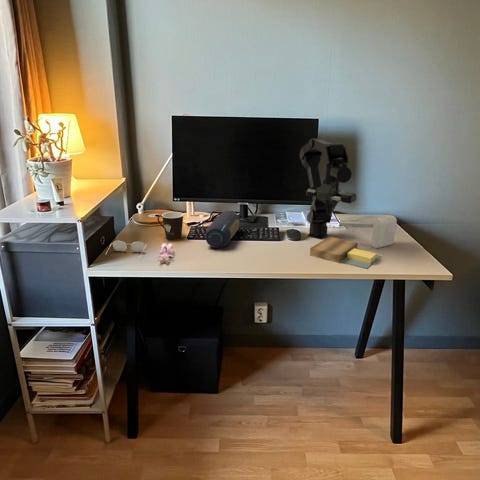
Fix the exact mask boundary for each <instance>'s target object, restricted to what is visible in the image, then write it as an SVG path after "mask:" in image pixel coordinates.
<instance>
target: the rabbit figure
mask: <svg viewBox="0 0 480 480" xmlns="http://www.w3.org/2000/svg"><path fill="white" fill-rule="evenodd" d="M172 248H173V243H172V242H171V243H168V244H167V243H162V244H161V249H160V251H159V252H158V255H157V256H156V258H159V265H160V266H161V265H162V264H164V263H165V264H166V265H167V266H168V265H169V263H170V262H171V261H170V259H171V258H174V255H173V254H174V252H173V249H172ZM170 257H171V258H170Z"/></svg>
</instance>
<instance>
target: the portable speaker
mask: <svg viewBox="0 0 480 480" xmlns="http://www.w3.org/2000/svg"><path fill="white" fill-rule="evenodd" d="M240 227H241V218H240V216H239V215H238V213H236V212H235V211H233V210H225V211H222V212H221V213H220V214H218V216H217V217H216V218H215V219H214V220H213V221H212V223H211V224H210V225H209V226H208V227H207V228H206V231H205V234H204V236H205V237H204V239H205V240H206V243H207V244H208V246H210V247H212V248H216V249H217V248H218V249H221V248H224V247H225V246H227V244H229V242H230V241H231V239H232V238H233V237H234V236H235V234H236V233H237V232H238V230H239V229H240Z"/></svg>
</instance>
